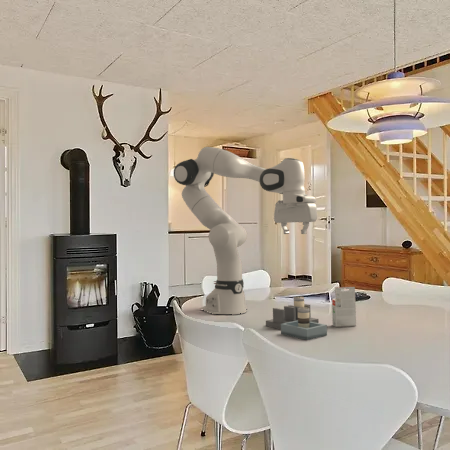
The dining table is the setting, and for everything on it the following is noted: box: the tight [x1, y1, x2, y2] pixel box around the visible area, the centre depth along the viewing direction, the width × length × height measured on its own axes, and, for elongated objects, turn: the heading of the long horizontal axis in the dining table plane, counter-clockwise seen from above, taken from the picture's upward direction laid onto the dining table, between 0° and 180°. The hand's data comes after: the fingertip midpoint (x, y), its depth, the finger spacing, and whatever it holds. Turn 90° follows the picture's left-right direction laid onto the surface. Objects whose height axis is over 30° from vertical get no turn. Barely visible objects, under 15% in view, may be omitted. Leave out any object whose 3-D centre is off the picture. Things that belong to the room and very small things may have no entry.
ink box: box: [331, 286, 357, 328], centre depth 171 cm, size 4×8×15 cm, turn 96°
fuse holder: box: [265, 303, 319, 330], centre depth 174 cm, size 12×16×7 cm
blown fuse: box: [298, 307, 310, 329], centre depth 159 cm, size 4×4×8 cm
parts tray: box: [280, 320, 328, 341], centre depth 159 cm, size 12×10×4 cm
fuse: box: [293, 296, 305, 307], centre depth 176 cm, size 4×4×8 cm
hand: (294, 234), depth 183 cm, fingers open, 8 cm apart
